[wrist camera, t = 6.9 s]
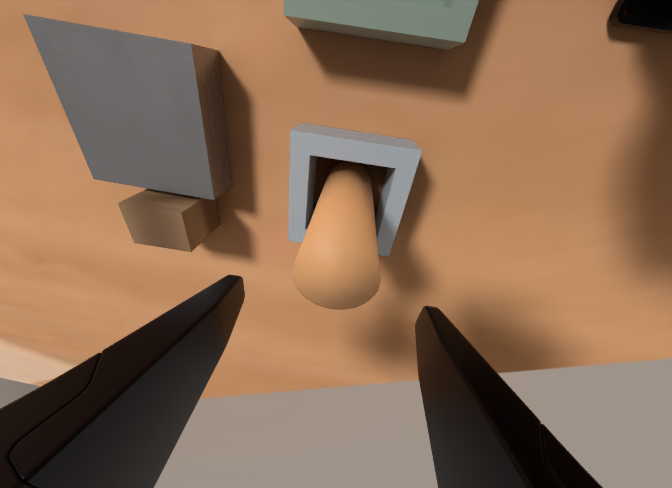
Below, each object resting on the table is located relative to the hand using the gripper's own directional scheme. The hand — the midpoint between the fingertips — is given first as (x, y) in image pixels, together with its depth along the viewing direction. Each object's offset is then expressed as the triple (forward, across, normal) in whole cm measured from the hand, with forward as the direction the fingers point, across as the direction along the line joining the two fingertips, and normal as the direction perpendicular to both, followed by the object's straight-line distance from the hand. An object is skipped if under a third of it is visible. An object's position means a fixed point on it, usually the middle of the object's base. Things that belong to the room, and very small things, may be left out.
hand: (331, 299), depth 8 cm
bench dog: (+11, +12, +4) cm, 17 cm away
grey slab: (+11, +12, -3) cm, 17 cm away
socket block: (+11, 0, 0) cm, 11 cm away
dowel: (+11, 0, 0) cm, 11 cm away
